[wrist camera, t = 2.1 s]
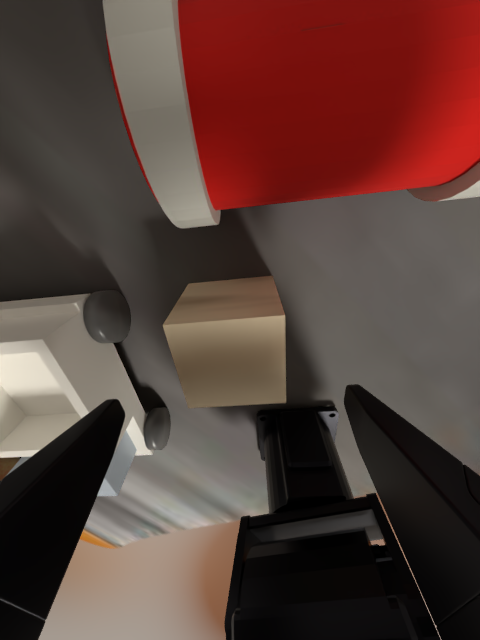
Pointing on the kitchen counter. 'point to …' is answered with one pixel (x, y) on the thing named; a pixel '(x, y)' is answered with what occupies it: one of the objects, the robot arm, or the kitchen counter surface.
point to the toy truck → (70, 377)
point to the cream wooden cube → (229, 343)
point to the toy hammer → (297, 99)
